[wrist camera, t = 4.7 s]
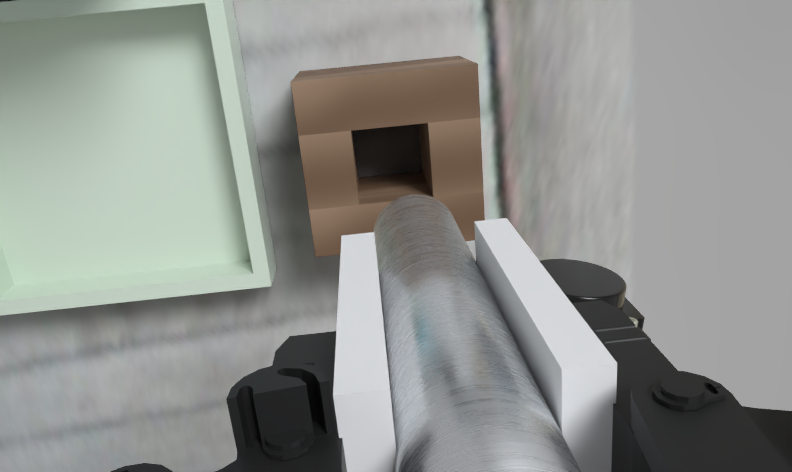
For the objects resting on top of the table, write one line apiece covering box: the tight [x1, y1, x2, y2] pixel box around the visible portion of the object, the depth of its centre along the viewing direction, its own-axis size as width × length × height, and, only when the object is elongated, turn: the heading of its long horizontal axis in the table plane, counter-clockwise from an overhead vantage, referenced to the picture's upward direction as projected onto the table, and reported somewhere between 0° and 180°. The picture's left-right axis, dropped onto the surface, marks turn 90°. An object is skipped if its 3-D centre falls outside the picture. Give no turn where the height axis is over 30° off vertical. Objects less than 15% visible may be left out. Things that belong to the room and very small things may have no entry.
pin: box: [374, 194, 581, 472], centre depth 12 cm, size 2×2×14 cm
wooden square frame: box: [291, 56, 485, 257], centre depth 31 cm, size 8×8×5 cm
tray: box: [0, 0, 277, 316], centre depth 31 cm, size 15×15×2 cm
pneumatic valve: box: [540, 259, 651, 341], centre depth 31 cm, size 6×12×12 cm, turn 178°
